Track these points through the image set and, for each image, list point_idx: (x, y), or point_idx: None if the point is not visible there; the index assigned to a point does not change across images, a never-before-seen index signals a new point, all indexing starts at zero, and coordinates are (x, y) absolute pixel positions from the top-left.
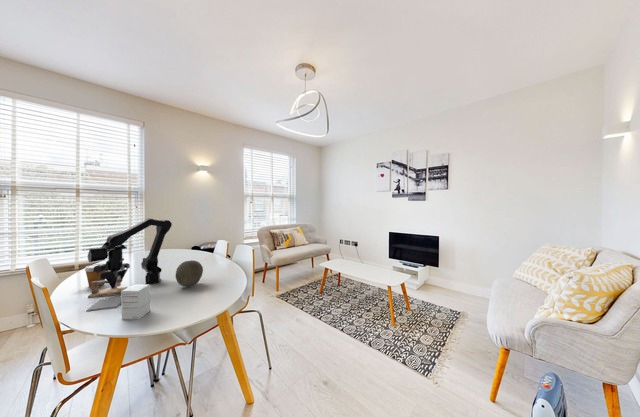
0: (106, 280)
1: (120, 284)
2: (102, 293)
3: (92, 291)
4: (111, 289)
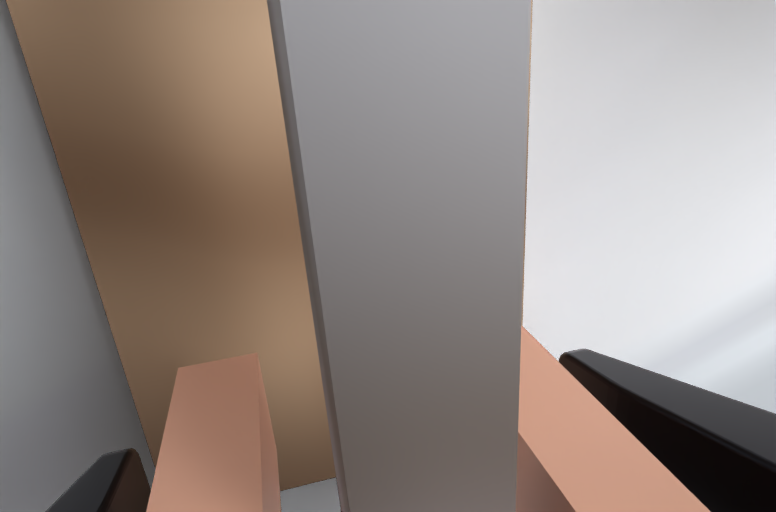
0: (446, 242)
1: None
2: (137, 106)
3: None
4: (178, 373)
